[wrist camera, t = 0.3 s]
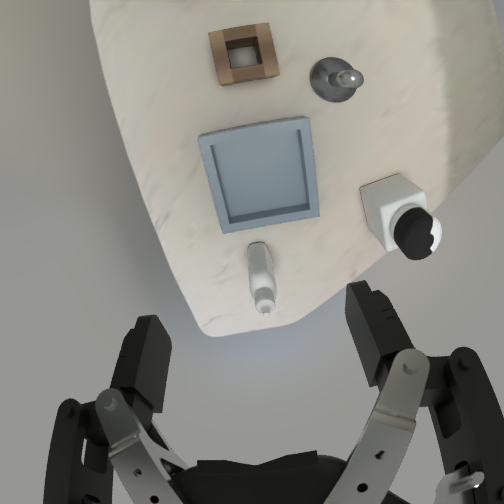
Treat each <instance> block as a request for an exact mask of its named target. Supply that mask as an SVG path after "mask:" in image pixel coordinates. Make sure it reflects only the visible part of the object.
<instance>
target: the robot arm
mask: <svg viewBox="0 0 504 504" xmlns="http://www.w3.org/2000/svg"><path fill="white" fill-rule="evenodd" d="M345 314H346V320H347V324H348V326H349V329H350V332H351V334H352V337H353V340H354V343H355V345H356V348H357V351H358V354H359V357H360V360H361V363H362V366H363V369H364V372H365V375H366V378H367V381H368V384H369V387H373V386H376V385H378V388H379V391H380V393H379V396H378V398H377V400H376V403H375V405H374V407H373V409H372V412H371V414H370V416H369V418H368V421H367V423H366V425H365V427H364V429H363V431H362V433H361V435H360V437H359V439H358V440H357V442H356V444H355V446H354V448H353V450H352V452H351V453H350V455H349V457H348V459H347V461H344V460H342V459H339V458H336V457H332V456H327V455H317V451H316V450H315V451H310V452H304V453H298V454H291V455H286V456H283V457H280V458H277V459H274V460H272V461H269V462H266V463H263V464H259V465H249V464H242V463H237V462H232V461H227V460H198V461H197V466H194V467H191V468H189V467H188V466H187V465H186V463H185V462H184V461H183V460H182V459H181V458H180V457H179V456H178V455H176V454H175V452H174V451H173V450H172V448H171V447H170V445H169V444H168V442H167V441H166V439H165V438H164V436H163V435H162V434H161V432H160V430H159V429H158V427H157V425H156V424H155V422H154V421H153V420H152V415H153V413H162V409H163V402H164V395H165V388H166V381H167V375H168V367H169V362H170V356H171V350H172V344H171V339H170V337H169V335H168V333H167V331H166V330H165V328H164V326H163V325H162V323H161V322H160V320H159V318H158V317H157V316H156V315H147V316H139V317H138V319H137V322H136V325H135V328H134V329H130V331H129V332H128V333H127V335H126V336H125V338H124V340H123V343H122V346H121V350H120V353H119V358H118V360H117V363H116V367H115V370H114V374H113V377H112V381H111V385H110V388H109V389H106V390H104V391H102V392H101V393H100V394H99V396H98V397H97V399H96V401H92V402H89V403H85V404H80V403H79V402H78V401H76V400H75V399H67V400H65V401H64V402H62V403H61V405H60V406H59V409H58V412H57V416H56V420H55V425H54V430H53V434H52V439H51V444H50V450H49V456H48V463H47V470H46V477H45V487H44V498H43V504H112V486H113V470H114V469H115V470H116V472H117V474H118V476H119V478H120V480H121V482H122V484H123V485H124V487H125V489H126V491H127V492H128V494H129V496H130V497H131V499H132V501H133V502H134V504H410V503H408V502H407V501H405V500H403V499H402V498H400V497H399V496H397V495H395V494H394V493H392V492H391V491H389V490H388V489H389V488H390V486H391V483H392V482H393V480H394V478H395V476H396V474H397V471H398V469H399V467H400V465H401V463H402V460H403V458H404V456H405V453H406V451H407V448H408V446H409V443H410V441H411V439H412V436H413V433H414V430H415V427H416V421H415V417H416V414H417V411H418V408H419V407H426V406H428V408H429V411H430V414H431V418H432V421H433V425H434V428H435V432H436V436H437V440H438V444H439V448H440V452H441V456H442V461H443V466H444V470H445V476H444V477H443V478H442V479H441V480H440V482H439V483H438V485H437V488H436V498H435V502H434V504H504V418H503V415H502V411H501V409H500V406H499V403H498V401H497V398H496V395H495V393H494V390H493V388H492V386H491V383H490V381H489V378H488V376H487V374H486V371H485V369H484V367H483V365H482V363H481V361H480V359H479V357H478V355H477V353H476V352H475V351H474V350H472V349H470V348H467V347H459V348H457V349H455V350H454V351H453V352H452V354H451V355H450V356H442V357H430V356H426V355H425V354H424V353H423V352H421V351H419V350H416V349H415V347H414V346H413V344H412V343H411V340H410V338H409V336H408V334H407V332H406V330H405V328H404V326H403V324H402V322H401V321H400V319H399V317H398V315H397V313H396V311H395V309H393V306H392V304H391V302H390V300H389V298H388V297H387V296H386V295H384V294H383V293H382V292H380V290H376V291H373V292H372V291H371V289H370V287H369V285H368V283H367V282H366V281H365V280H363V281H358V282H354V283H349V284H347V288H346V304H345ZM84 439H86V440H87V443H86V451H85V458H84V465H83V464H82V461H81V456H82V449H83V442H84ZM113 468H114V469H113Z"/></svg>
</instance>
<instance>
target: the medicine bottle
mask: <svg viewBox="0 0 504 504" xmlns="http://www.w3.org/2000/svg"><path fill="white" fill-rule="evenodd" d="M360 192H361V196H362V200H363V205H364V209H365V214H366V219H367V224H368V228H369V229H370V230H371V231H372V233H373V234H374V235H375V237H376V238H377V239H378V240H379V242H380V243H381V244H382V246H383V247H384V248H385V250H386V251H391V250H393V249H396V248H398V247H399V248H400V249H401V251H402V252H403V253H404V254H405V256H406V257H407V258H409V259H411V260H421V259H424V258H426V257H428V256H429V255H430V254H431V253H433V252H434V250H435V249H436V248H437V246H438V244H439V242H440V239H441V232H442V230H441V224H440V222H439V221H438V220H437V219H436V218H435V217H434V216H433V215H432V214H430V213H429V212H428V211H427V206H426V194H425V191H424V190H423V189H421V188H420V187H419V186H417V185H416V184H414V183H413V182H411V181H410V180H408V179H407V178H406V177H404V176H403V175H401V174H396V175H393V176H391V177H388V178H385V179H382V180H379V181H377V182H374V183H371V184H368V185H366V186H363V187H361V188H360Z"/></svg>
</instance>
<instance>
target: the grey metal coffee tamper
mask: <svg viewBox="0 0 504 504" xmlns="http://www.w3.org/2000/svg"><path fill="white" fill-rule="evenodd" d="M310 82H311V85H312V88H313V90H314V91H315V92H316V93H317V95H319V96H320V97H321V98H323V99H325V100H327V101H331V102H343V101H346V100H348V99H349V98H351V97H352V96H353V95H354V93H355V91H356V89H357V88H358V87H360V86H361V85H362V84H363V82H364V78H363V75H362V74H361V73H360V72H359V71H357V70H354V69H353V68H352V66H351V65H350V64H349V63H347V62H346V61H344V60H342V59H339V58H335V57H329V58H325V59H322V60H320V61H318V62H317V63H316V64H315V65H314V66H313V68H312V70H311V73H310Z"/></svg>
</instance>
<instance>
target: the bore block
mask: <svg viewBox="0 0 504 504" xmlns="http://www.w3.org/2000/svg"><path fill="white" fill-rule="evenodd" d="M208 35H209V40H210V44H211V49H212V53H213V57H214V62H215V66H216V71H217V75H218V80H219V84H220V85H221V86H226V85H231V84H236V83H241V82H247V81H253V80H259V79H266V78H273V77H275V76H278V75H280V73H279V68H278V63H277V58H276V54H275V49H274V44H273V40H272V35H271V31H270V26H269V23H261V24H253V25H246V26H240V27H234V28H229V29H224V30H219V31H214V32H209V33H208ZM253 45H254V48H255V52H256V57H257V61H258V65H252V66H246V67H240V68H235V69H231V65H230V60H229V56H228V51H227V50H230V49H235V48H241V47H247V46H253Z"/></svg>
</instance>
